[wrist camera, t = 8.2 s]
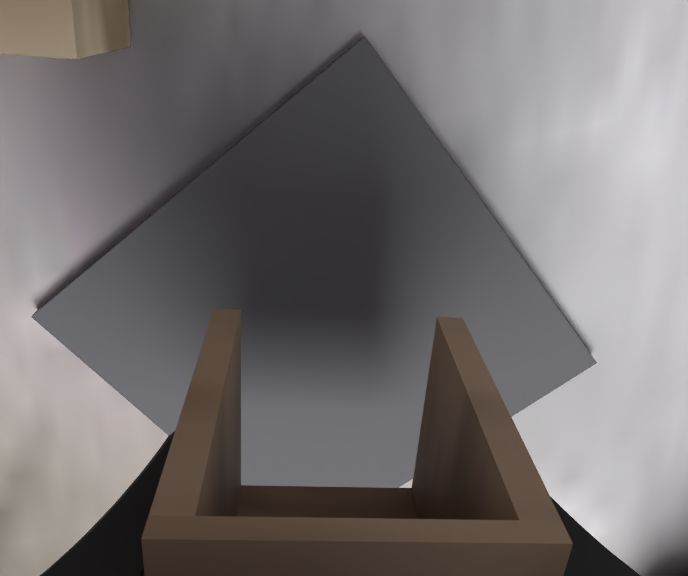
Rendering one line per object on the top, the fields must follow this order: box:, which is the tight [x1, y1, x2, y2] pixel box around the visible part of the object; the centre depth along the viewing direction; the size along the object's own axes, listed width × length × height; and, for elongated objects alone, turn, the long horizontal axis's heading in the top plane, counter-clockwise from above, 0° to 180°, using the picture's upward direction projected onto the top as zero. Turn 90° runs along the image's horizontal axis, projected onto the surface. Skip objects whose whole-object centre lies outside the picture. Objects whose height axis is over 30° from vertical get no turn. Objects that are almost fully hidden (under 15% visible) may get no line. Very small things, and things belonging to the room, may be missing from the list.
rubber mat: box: [32, 37, 597, 488], centre depth 19 cm, size 12×12×1 cm
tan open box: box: [141, 309, 573, 576], centre depth 12 cm, size 6×6×6 cm
